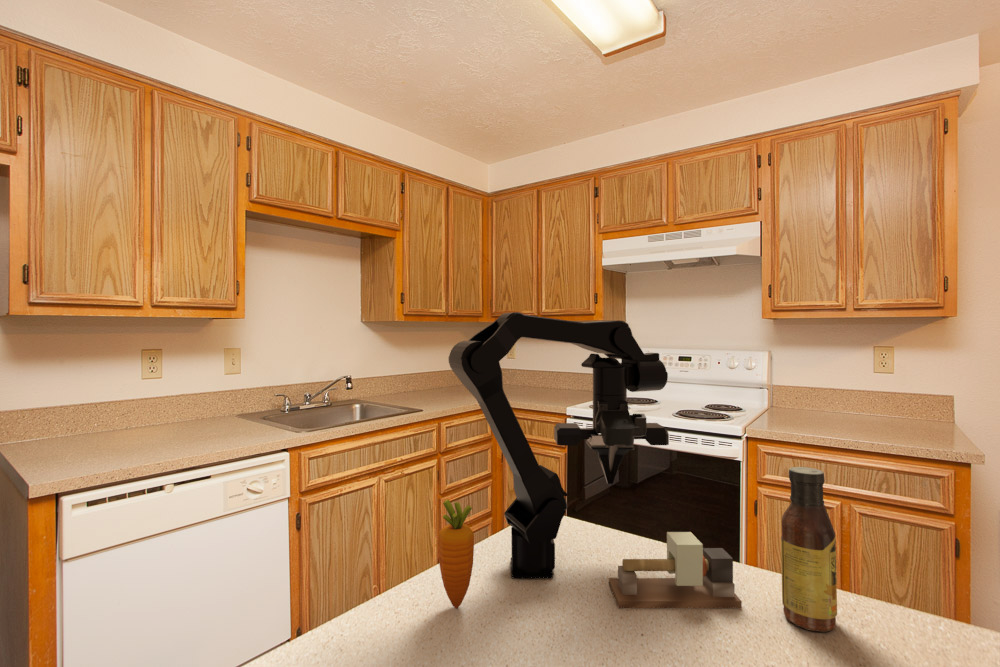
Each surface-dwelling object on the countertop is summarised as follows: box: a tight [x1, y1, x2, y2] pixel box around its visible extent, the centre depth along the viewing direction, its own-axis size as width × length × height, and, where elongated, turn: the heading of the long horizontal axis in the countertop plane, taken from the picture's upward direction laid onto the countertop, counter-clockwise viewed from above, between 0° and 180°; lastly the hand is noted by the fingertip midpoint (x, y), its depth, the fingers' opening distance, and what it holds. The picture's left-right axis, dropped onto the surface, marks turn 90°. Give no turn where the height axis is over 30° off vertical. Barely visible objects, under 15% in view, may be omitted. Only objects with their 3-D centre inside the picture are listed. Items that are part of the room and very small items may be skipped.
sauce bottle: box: [780, 466, 838, 633], centre depth 66 cm, size 7×6×20 cm
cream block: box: [666, 531, 704, 586], centre depth 73 cm, size 4×4×6 cm
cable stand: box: [608, 547, 743, 609], centre depth 73 cm, size 17×6×6 cm, turn 90°
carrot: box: [437, 499, 475, 609], centre depth 70 cm, size 5×5×15 cm
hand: (609, 483), depth 87 cm, fingers closed
